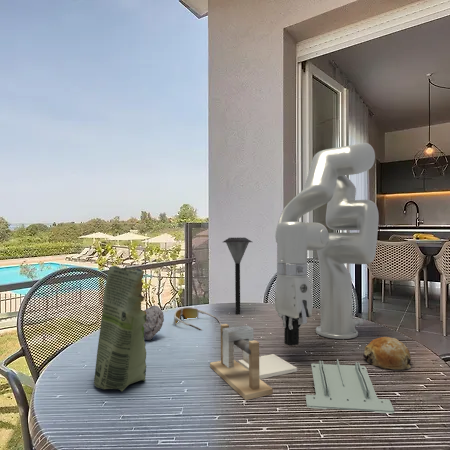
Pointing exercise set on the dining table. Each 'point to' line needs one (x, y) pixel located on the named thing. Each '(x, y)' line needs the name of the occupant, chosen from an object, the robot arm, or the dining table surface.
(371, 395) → the metal bracket
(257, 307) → the dining table surface
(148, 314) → the pumice stone
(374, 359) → the bread roll
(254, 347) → the rail stand
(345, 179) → the robot arm
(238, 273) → the solar garden light
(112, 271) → the pouch
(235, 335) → the notched grey block
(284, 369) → the square tile
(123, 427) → the dining table surface
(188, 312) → the sunglasses
